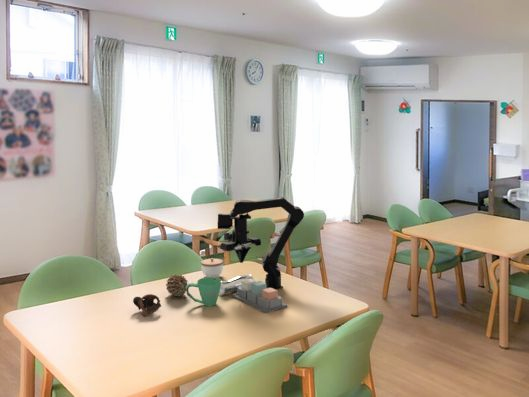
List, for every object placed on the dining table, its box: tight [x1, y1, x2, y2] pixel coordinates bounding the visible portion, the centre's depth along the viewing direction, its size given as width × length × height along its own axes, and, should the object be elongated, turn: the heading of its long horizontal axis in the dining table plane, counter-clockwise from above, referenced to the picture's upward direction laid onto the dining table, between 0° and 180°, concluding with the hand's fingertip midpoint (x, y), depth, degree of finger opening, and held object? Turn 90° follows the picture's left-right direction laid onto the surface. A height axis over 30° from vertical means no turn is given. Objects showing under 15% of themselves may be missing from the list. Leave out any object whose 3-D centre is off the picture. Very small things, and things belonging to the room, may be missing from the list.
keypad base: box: [232, 286, 288, 314], centre depth 214 cm, size 11×24×4 cm, turn 36°
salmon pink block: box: [262, 288, 278, 300], centre depth 207 cm, size 4×4×5 cm
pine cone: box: [165, 273, 189, 297], centre depth 225 cm, size 22×10×10 cm, turn 23°
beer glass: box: [219, 273, 254, 296], centre depth 226 cm, size 7×7×15 cm
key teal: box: [251, 280, 267, 295], centre depth 213 cm, size 4×4×5 cm
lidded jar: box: [200, 257, 224, 280], centre depth 248 cm, size 11×11×9 cm
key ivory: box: [241, 279, 257, 291], centre depth 219 cm, size 4×4×5 cm
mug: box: [185, 277, 222, 307], centre depth 210 cm, size 15×10×10 cm
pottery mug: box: [132, 293, 162, 317], centre depth 203 cm, size 12×10×8 cm
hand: (241, 262), depth 229 cm, fingers closed
